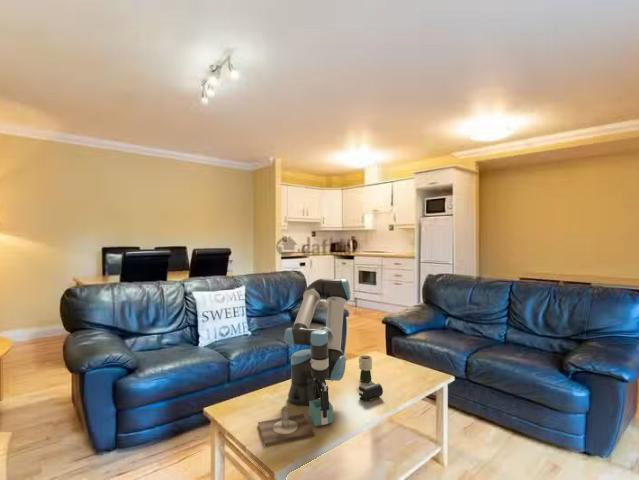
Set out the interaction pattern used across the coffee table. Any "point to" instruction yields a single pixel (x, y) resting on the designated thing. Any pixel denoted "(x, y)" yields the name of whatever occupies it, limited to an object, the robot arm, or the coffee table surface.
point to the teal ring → (319, 412)
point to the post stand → (285, 428)
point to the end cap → (370, 391)
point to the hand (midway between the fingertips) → (321, 418)
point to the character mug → (365, 367)
